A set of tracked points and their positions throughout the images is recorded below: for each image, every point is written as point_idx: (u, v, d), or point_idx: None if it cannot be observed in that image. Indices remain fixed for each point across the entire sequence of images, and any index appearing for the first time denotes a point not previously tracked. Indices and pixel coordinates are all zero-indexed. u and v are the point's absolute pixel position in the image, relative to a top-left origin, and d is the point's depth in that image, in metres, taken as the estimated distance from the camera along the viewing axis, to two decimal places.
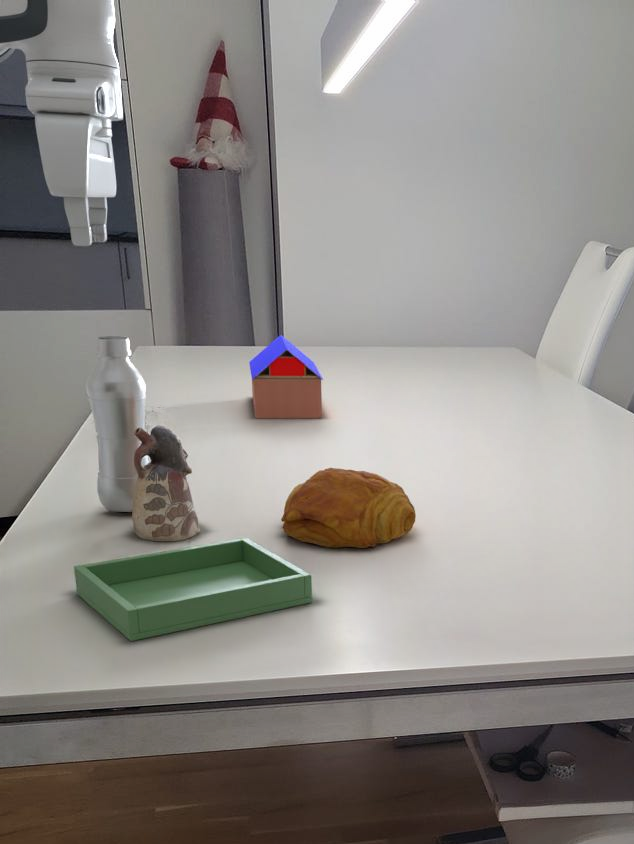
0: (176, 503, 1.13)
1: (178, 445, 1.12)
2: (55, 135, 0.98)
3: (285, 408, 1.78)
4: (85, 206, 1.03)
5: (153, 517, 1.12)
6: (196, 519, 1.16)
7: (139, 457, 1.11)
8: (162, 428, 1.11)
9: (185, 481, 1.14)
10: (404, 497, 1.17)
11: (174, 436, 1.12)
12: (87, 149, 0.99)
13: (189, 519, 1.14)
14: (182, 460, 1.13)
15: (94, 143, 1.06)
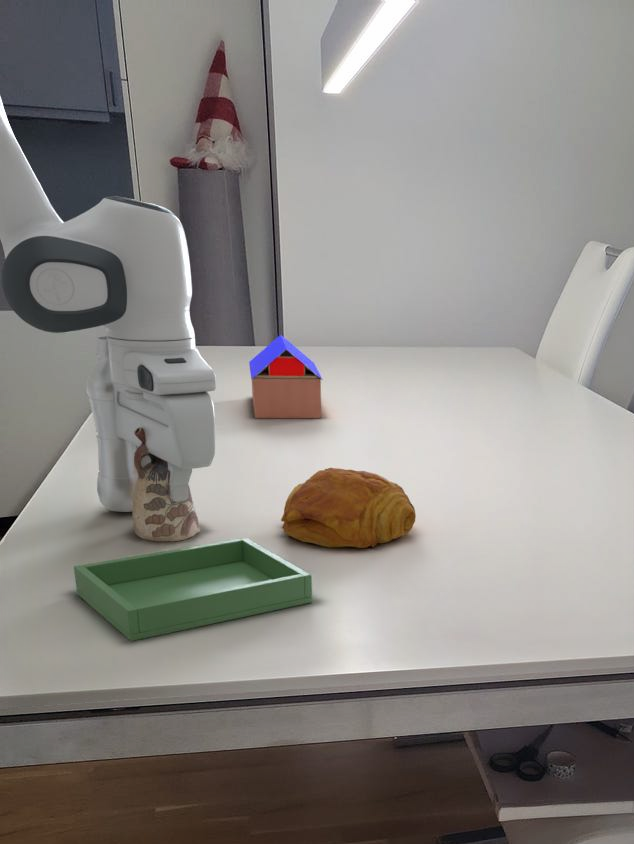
0: (176, 503, 1.13)
1: None
2: (188, 417, 1.04)
3: (284, 408, 1.78)
4: None
5: (154, 517, 1.12)
6: (196, 519, 1.16)
7: (139, 457, 1.11)
8: None
9: None
10: (404, 497, 1.17)
11: None
12: (214, 425, 1.06)
13: (189, 519, 1.14)
14: None
15: None
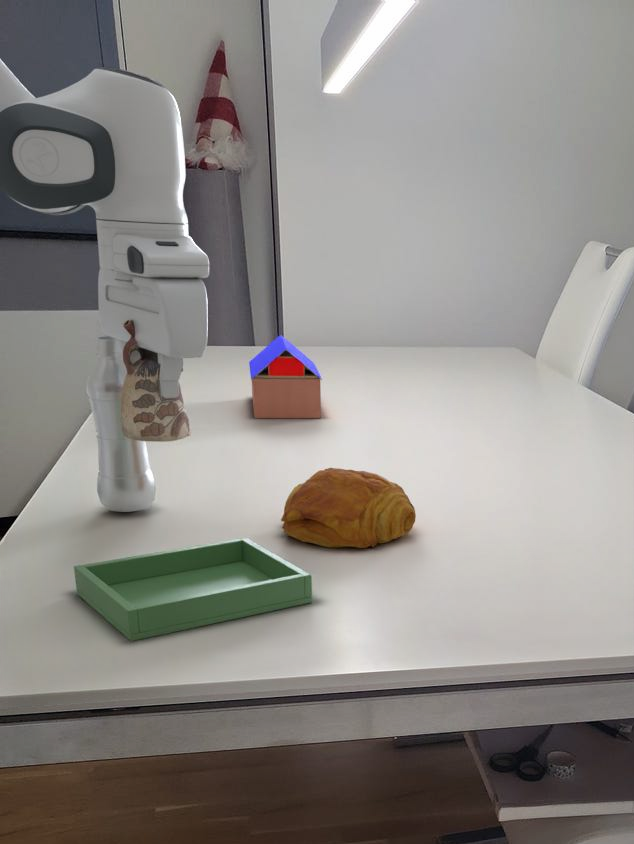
0: (166, 401, 1.08)
1: None
2: (179, 301, 0.99)
3: (284, 408, 1.78)
4: (182, 361, 1.05)
5: (142, 415, 1.07)
6: (187, 421, 1.11)
7: (128, 351, 1.06)
8: None
9: None
10: (404, 497, 1.17)
11: None
12: (207, 313, 1.01)
13: (180, 420, 1.09)
14: None
15: None
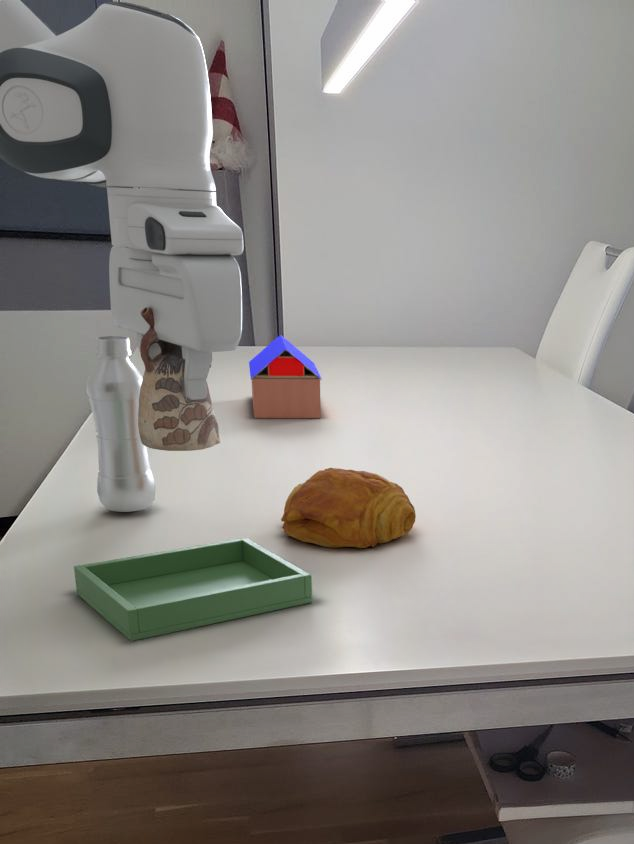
0: (193, 403, 0.91)
1: None
2: (209, 283, 0.82)
3: (284, 408, 1.78)
4: (210, 355, 0.88)
5: (164, 420, 0.91)
6: (216, 426, 0.94)
7: (147, 344, 0.89)
8: None
9: None
10: (404, 497, 1.17)
11: None
12: (241, 297, 0.84)
13: (208, 425, 0.93)
14: None
15: None
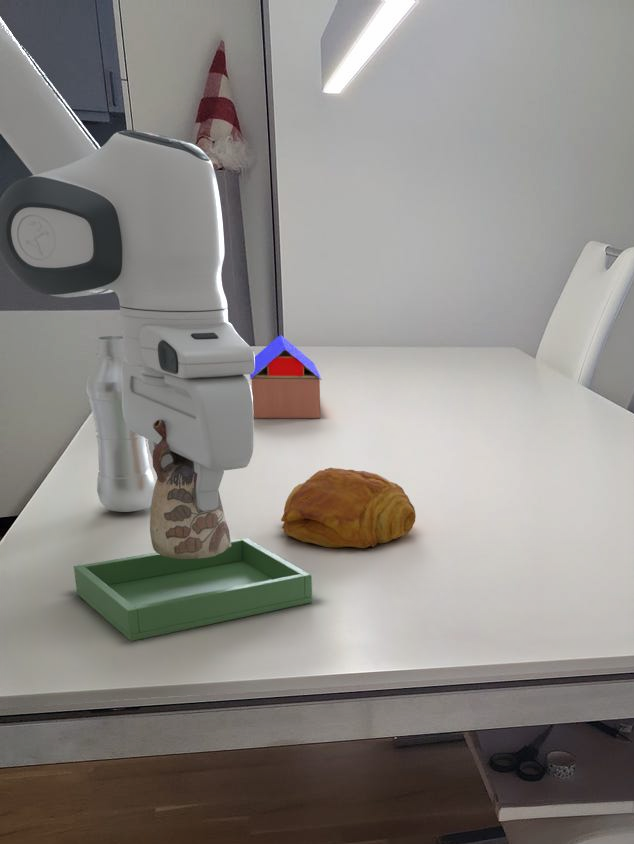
0: (204, 512, 0.92)
1: None
2: (221, 405, 0.83)
3: (283, 408, 1.78)
4: None
5: (176, 529, 0.92)
6: (227, 531, 0.95)
7: (159, 456, 0.90)
8: None
9: None
10: (404, 497, 1.17)
11: None
12: None
13: (219, 532, 0.94)
14: None
15: None
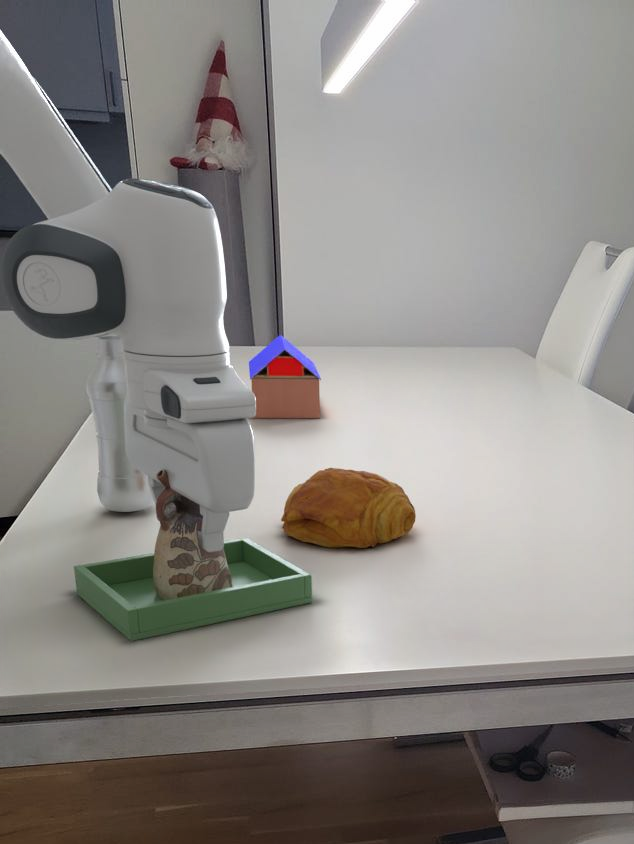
0: (206, 559, 0.94)
1: None
2: (223, 450, 0.84)
3: (283, 408, 1.78)
4: (227, 511, 0.90)
5: (179, 577, 0.93)
6: (229, 577, 0.97)
7: (162, 505, 0.92)
8: None
9: None
10: (404, 497, 1.17)
11: None
12: (254, 459, 0.86)
13: (221, 578, 0.95)
14: None
15: None
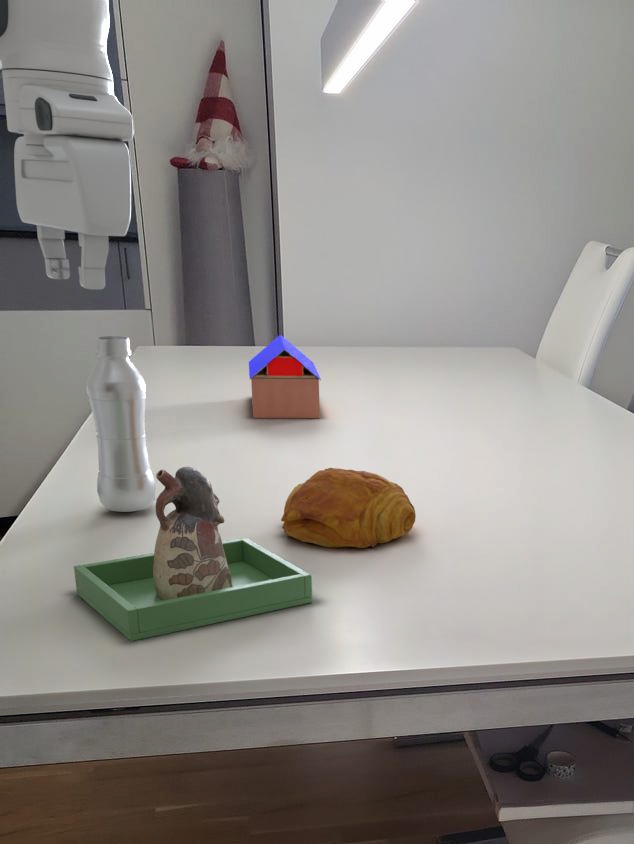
0: (206, 559, 0.94)
1: (209, 491, 0.93)
2: (96, 164, 0.83)
3: (283, 408, 1.78)
4: (107, 244, 0.89)
5: (179, 576, 0.93)
6: (229, 577, 0.97)
7: (162, 505, 0.92)
8: (189, 470, 0.93)
9: (217, 532, 0.95)
10: (404, 497, 1.17)
11: (204, 479, 0.93)
12: (130, 181, 0.85)
13: (221, 578, 0.95)
14: (213, 507, 0.94)
15: None
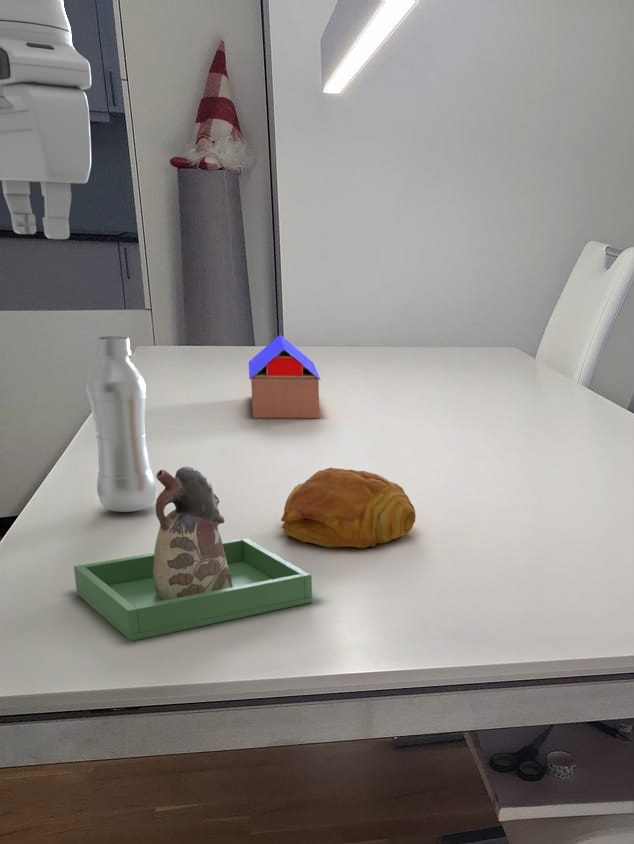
0: (206, 559, 0.94)
1: (209, 491, 0.93)
2: (54, 111, 0.85)
3: (282, 408, 1.78)
4: (70, 193, 0.90)
5: (179, 576, 0.93)
6: (229, 577, 0.97)
7: (162, 505, 0.92)
8: (189, 470, 0.93)
9: (217, 532, 0.95)
10: (404, 497, 1.17)
11: (204, 479, 0.93)
12: (89, 128, 0.87)
13: (221, 578, 0.95)
14: (213, 507, 0.94)
15: None
